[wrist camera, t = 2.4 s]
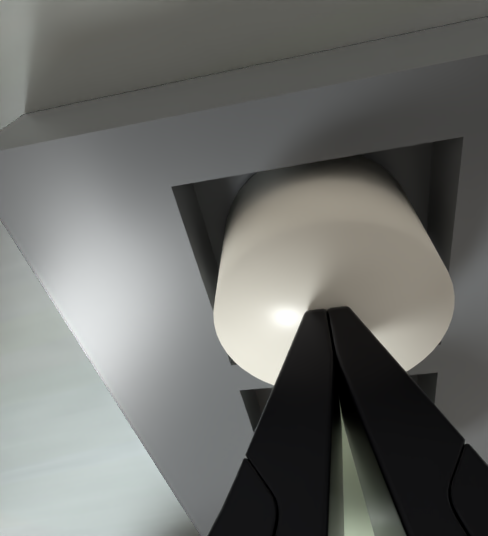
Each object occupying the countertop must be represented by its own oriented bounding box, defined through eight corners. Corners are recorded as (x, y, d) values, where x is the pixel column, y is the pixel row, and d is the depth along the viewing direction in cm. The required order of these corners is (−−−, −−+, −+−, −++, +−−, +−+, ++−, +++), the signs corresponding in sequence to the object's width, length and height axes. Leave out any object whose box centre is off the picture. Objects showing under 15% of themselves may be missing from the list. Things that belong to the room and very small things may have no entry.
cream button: (408, 294, 12) (444, 384, 9) (245, 313, 12) (239, 401, 10) (415, 131, 9) (467, 199, 7) (205, 168, 10) (184, 241, 7)
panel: (484, 495, 21) (508, 557, 18) (223, 507, 23) (218, 564, 21) (630, -14, 8) (753, 1, 6) (23, 114, 10) (-39, 158, 8)
